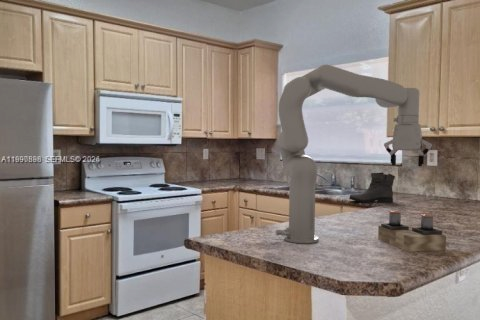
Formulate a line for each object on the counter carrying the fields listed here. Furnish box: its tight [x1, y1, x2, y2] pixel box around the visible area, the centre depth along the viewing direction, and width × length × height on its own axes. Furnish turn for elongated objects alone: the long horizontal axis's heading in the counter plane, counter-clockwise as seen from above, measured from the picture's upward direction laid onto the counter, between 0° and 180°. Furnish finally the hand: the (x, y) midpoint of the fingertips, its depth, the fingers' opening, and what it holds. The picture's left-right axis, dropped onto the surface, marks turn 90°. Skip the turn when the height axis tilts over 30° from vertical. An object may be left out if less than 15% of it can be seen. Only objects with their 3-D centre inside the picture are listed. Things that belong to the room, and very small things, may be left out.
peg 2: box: [420, 213, 434, 231], centre depth 151 cm, size 4×4×7 cm
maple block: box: [377, 222, 447, 253], centre depth 155 cm, size 14×20×6 cm
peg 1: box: [388, 210, 402, 227], centre depth 158 cm, size 4×4×7 cm
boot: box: [348, 172, 396, 204], centre depth 273 cm, size 10×29×19 cm, turn 97°
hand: (406, 165), depth 164 cm, fingers open, 9 cm apart
